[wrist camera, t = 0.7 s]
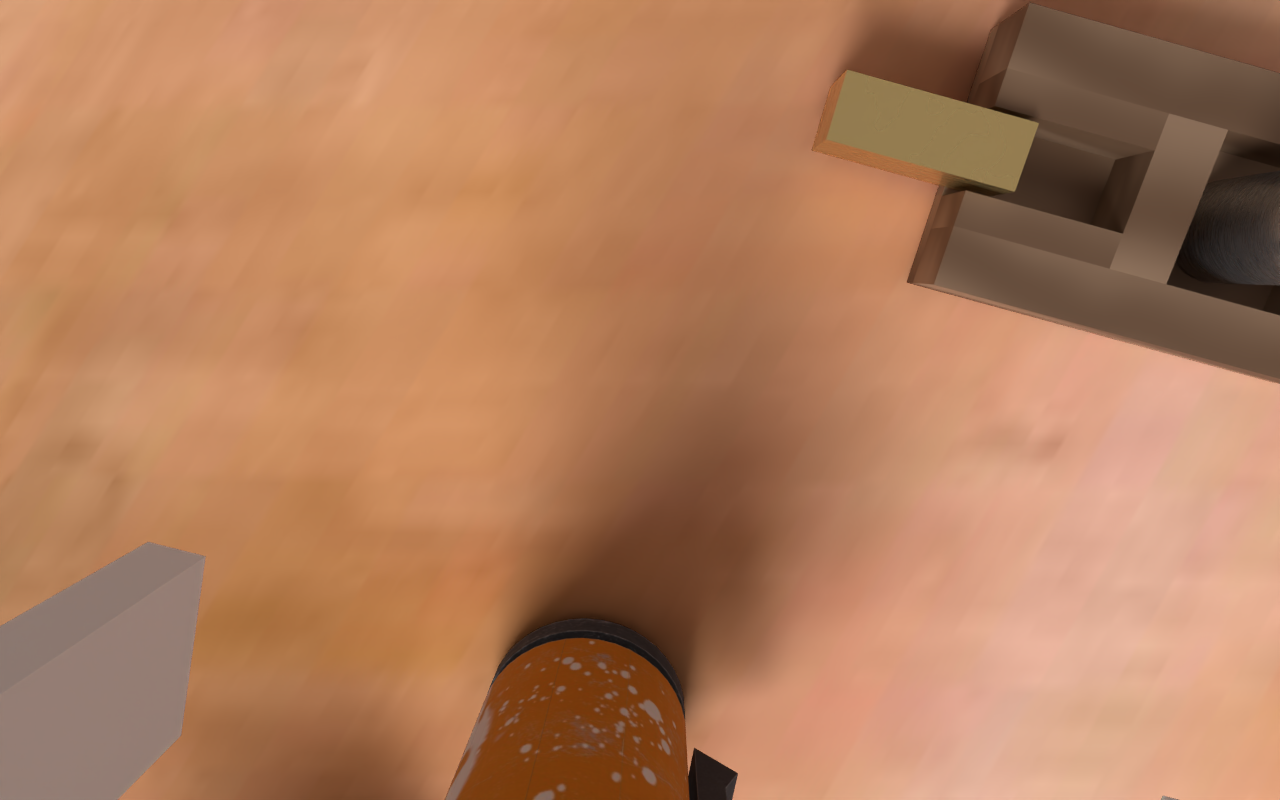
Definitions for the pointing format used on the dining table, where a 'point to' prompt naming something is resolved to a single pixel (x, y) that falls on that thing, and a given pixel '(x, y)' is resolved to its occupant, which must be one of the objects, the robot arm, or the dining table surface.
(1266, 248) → the metal round-nosed cylinder
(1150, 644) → the dining table surface
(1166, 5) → the dining table surface
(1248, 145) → the socket block
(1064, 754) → the dining table surface
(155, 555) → the robot arm
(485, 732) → the canister
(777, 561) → the dining table surface
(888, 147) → the bar
